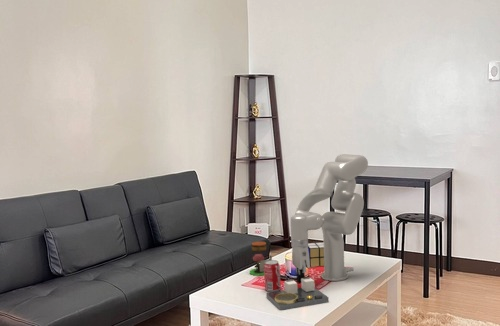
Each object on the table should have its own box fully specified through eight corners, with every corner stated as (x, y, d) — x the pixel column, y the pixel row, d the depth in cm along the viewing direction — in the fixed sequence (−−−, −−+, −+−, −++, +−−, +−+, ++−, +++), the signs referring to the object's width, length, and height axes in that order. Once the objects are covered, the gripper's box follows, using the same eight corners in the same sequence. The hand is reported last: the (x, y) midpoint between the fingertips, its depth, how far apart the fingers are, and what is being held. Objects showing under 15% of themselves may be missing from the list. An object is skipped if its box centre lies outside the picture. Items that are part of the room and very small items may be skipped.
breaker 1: (293, 289, 240) (292, 279, 240) (297, 293, 236) (297, 282, 235) (284, 290, 239) (284, 280, 239) (288, 294, 234) (288, 283, 234)
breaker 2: (309, 286, 243) (309, 276, 242) (314, 290, 238) (314, 279, 238) (301, 288, 242) (301, 277, 241) (306, 291, 237) (305, 281, 236)
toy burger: (244, 276, 269) (243, 246, 268) (252, 268, 281) (251, 239, 279) (267, 277, 266) (266, 247, 264) (274, 269, 277) (273, 240, 276)
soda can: (279, 292, 244) (278, 264, 242) (263, 292, 245) (262, 264, 244) (281, 287, 251) (280, 259, 249) (266, 287, 252) (265, 259, 251)
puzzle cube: (306, 262, 289) (305, 243, 287) (324, 260, 290) (324, 242, 288) (310, 267, 279) (309, 248, 278) (329, 266, 280) (328, 247, 279)
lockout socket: (292, 294, 235) (292, 291, 235) (301, 301, 226) (301, 298, 226) (271, 297, 232) (271, 294, 232) (279, 305, 223) (279, 302, 223)
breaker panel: (312, 290, 245) (312, 283, 245) (328, 302, 230) (328, 295, 230) (266, 297, 238) (266, 290, 238) (279, 310, 223) (279, 303, 223)
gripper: (314, 245, 239) (315, 286, 241) (300, 238, 253) (302, 276, 255) (298, 247, 237) (299, 288, 239) (285, 239, 251) (287, 278, 253)
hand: (300, 282), depth 247 cm, fingers closed
